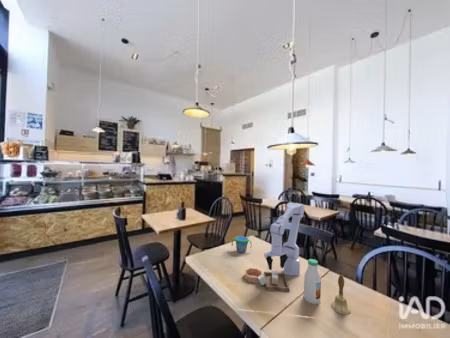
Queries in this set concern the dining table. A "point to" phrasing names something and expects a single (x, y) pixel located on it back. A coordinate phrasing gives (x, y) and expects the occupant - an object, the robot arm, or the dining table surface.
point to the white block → (262, 279)
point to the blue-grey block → (274, 273)
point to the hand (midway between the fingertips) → (276, 268)
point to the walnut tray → (281, 282)
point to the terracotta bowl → (252, 274)
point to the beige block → (275, 279)
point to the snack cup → (241, 243)
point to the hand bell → (340, 299)
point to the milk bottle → (312, 283)
